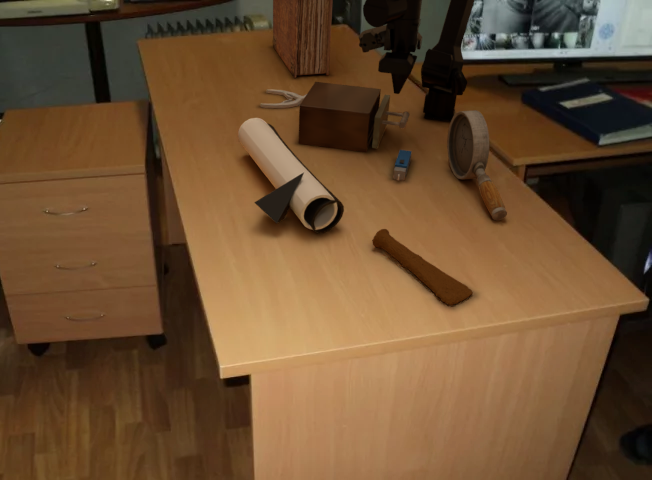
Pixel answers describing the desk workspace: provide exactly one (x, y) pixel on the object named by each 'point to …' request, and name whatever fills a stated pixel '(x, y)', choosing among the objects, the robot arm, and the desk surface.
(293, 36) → the book
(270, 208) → the diploma
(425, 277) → the primitive tool
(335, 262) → the desk surface
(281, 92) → the pliers
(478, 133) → the magnifying glass
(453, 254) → the desk surface
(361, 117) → the cabinet
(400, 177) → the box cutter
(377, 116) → the drawer
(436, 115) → the robot arm
